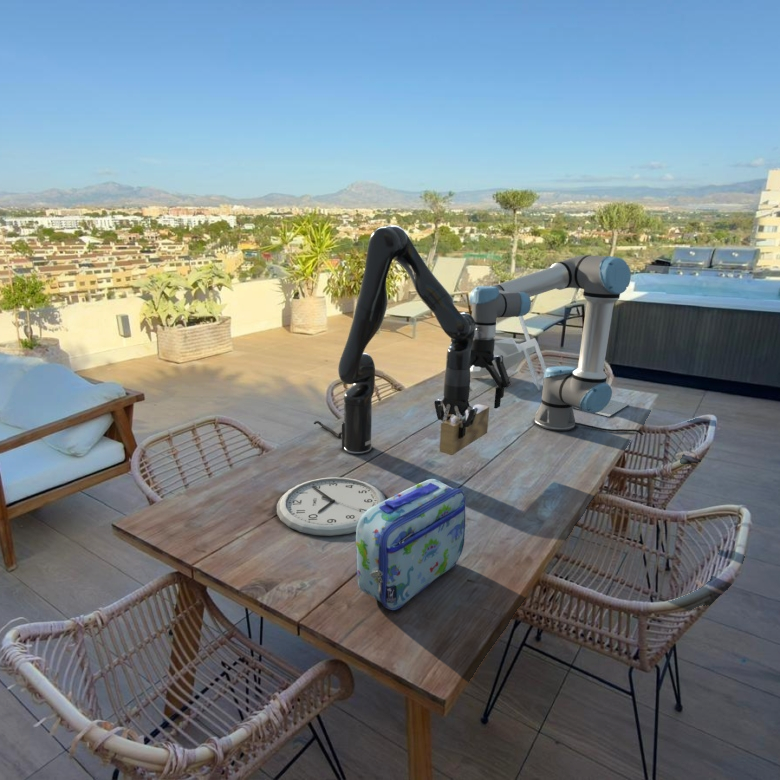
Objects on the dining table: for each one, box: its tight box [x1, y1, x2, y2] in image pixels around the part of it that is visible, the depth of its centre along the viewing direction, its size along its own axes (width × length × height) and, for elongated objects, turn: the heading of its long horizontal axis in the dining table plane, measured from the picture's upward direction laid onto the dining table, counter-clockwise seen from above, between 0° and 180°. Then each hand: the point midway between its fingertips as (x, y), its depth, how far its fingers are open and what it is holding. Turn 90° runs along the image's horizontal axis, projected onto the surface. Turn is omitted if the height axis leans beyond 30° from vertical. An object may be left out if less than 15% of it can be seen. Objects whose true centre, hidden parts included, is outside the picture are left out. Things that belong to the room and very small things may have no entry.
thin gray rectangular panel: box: [573, 400, 629, 418], centre depth 226 cm, size 21×1×15 cm
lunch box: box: [355, 478, 466, 611], centre depth 110 cm, size 26×11×21 cm, turn 134°
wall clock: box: [276, 476, 387, 537], centre depth 142 cm, size 30×2×30 cm
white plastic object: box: [470, 316, 548, 391], centre depth 259 cm, size 37×45×31 cm
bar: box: [439, 403, 490, 456], centre depth 164 cm, size 23×4×9 cm, turn 143°
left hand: (453, 435), depth 158 cm, fingers closed on bar, 4 cm apart
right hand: (477, 402), depth 167 cm, fingers open, 13 cm apart
